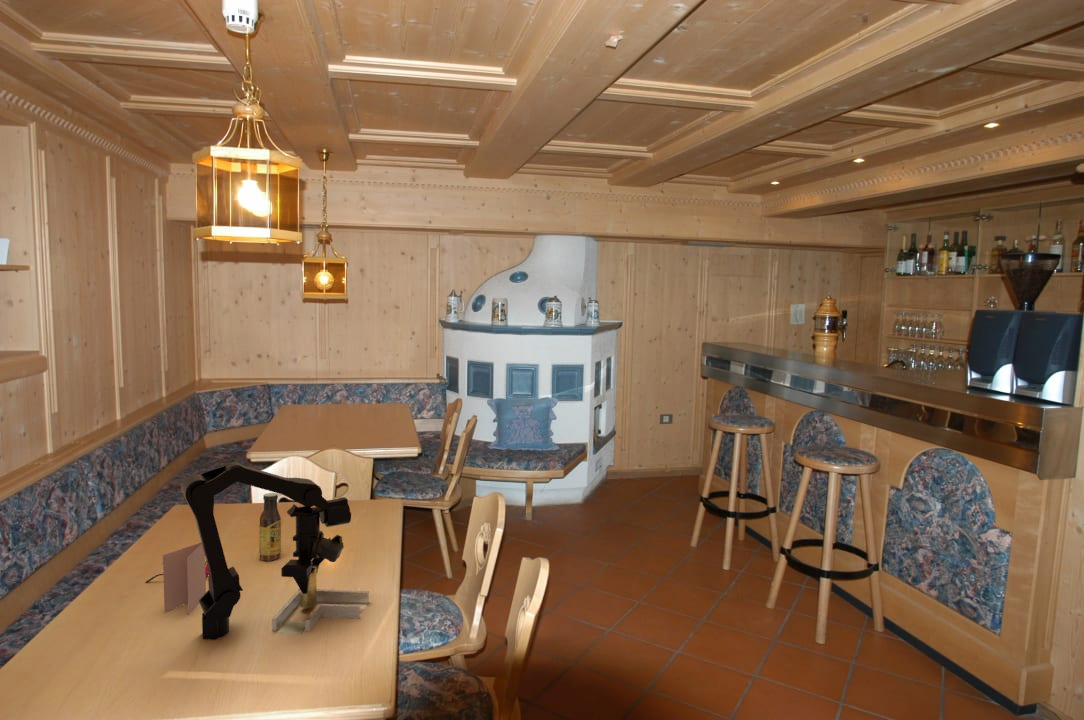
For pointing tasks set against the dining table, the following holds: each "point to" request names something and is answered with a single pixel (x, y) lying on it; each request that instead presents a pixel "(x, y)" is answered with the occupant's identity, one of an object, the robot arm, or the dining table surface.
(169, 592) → the greeting card
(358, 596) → the steel rails
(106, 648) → the dining table surface
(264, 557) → the sauce bottle
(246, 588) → the dining table surface
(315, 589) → the brass peg
